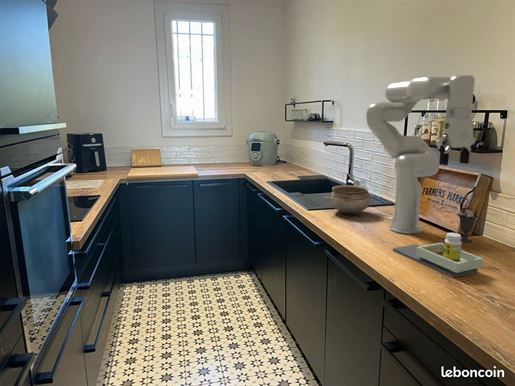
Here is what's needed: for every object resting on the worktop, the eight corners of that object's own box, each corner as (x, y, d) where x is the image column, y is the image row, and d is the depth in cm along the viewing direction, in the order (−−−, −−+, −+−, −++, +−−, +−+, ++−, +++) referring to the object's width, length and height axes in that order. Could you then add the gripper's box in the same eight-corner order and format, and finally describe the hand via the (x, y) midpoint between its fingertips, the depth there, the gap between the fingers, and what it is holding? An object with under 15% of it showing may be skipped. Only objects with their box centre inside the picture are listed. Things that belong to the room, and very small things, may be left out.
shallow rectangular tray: (415, 258, 126) (416, 247, 125) (439, 253, 130) (440, 242, 129) (456, 276, 112) (457, 263, 111) (481, 270, 116) (483, 258, 115)
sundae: (450, 239, 147) (454, 201, 144) (463, 237, 149) (467, 199, 146) (466, 244, 141) (470, 205, 138) (478, 242, 143) (483, 203, 140)
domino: (427, 254, 125) (427, 250, 125) (438, 252, 127) (439, 248, 126) (433, 256, 122) (434, 253, 122) (445, 254, 124) (445, 251, 124)
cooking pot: (364, 207, 198) (365, 184, 195) (382, 216, 179) (384, 191, 177) (318, 209, 194) (319, 186, 191) (331, 219, 175) (332, 193, 173)
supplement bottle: (440, 257, 122) (442, 232, 120) (454, 257, 122) (457, 231, 120) (447, 263, 117) (450, 237, 115) (462, 263, 117) (465, 236, 116)
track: (392, 250, 136) (392, 248, 136) (415, 246, 140) (415, 244, 140) (452, 277, 113) (452, 275, 113) (477, 271, 117) (477, 269, 117)
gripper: (449, 113, 122) (444, 166, 126) (486, 113, 129) (481, 163, 132) (430, 113, 129) (426, 164, 133) (467, 113, 136) (462, 161, 139)
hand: (453, 164), depth 133 cm, fingers open, 9 cm apart
